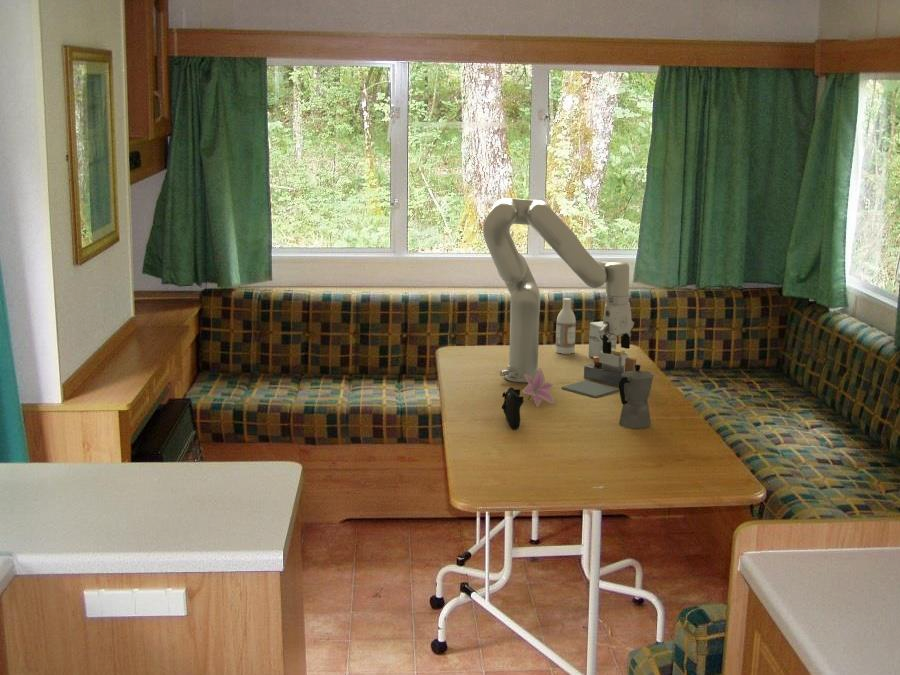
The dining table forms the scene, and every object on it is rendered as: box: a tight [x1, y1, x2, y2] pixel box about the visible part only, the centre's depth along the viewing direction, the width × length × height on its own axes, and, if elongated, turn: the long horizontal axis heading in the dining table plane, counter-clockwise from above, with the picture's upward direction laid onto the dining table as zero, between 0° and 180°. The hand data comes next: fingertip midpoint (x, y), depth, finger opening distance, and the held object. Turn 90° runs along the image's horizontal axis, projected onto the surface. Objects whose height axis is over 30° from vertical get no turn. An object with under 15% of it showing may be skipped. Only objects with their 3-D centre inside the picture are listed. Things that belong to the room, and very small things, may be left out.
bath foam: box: [555, 297, 577, 355], centre depth 408 cm, size 7×7×20 cm
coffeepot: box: [618, 364, 654, 430], centre depth 324 cm, size 15×9×18 cm, turn 138°
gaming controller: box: [501, 387, 525, 430], centre depth 325 cm, size 14×6×10 cm, turn 4°
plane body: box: [583, 356, 637, 388], centre depth 371 cm, size 8×18×9 cm, turn 44°
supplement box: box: [588, 320, 618, 359], centre depth 401 cm, size 7×7×13 cm
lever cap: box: [599, 348, 629, 367], centre depth 371 cm, size 5×8×5 cm, turn 44°
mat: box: [561, 379, 620, 399], centre depth 362 cm, size 12×14×1 cm
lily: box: [521, 367, 556, 408], centre depth 346 cm, size 12×12×10 cm
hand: (616, 350), depth 370 cm, fingers open, 9 cm apart
